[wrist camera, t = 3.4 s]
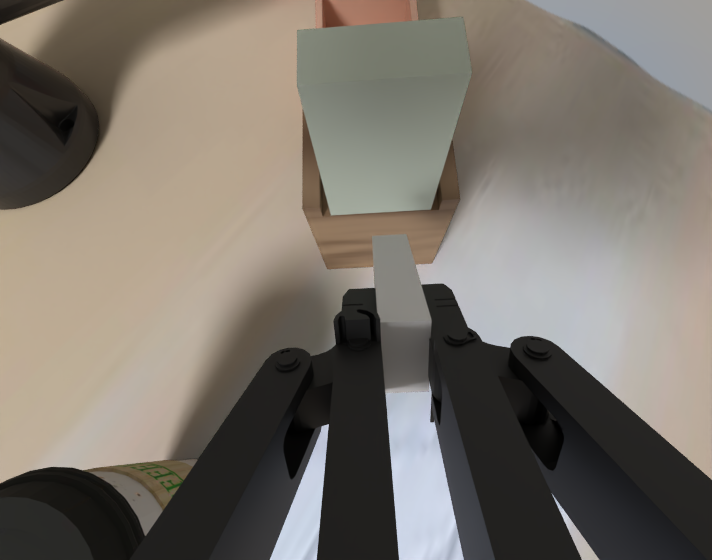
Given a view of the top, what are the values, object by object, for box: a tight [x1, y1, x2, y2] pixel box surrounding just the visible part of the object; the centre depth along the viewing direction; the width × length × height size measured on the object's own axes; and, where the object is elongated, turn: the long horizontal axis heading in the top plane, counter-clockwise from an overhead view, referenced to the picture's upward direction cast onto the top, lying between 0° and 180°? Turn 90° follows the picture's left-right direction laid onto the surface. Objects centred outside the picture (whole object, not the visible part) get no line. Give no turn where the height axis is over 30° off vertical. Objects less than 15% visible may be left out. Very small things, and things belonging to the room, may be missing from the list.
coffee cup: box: [0, 459, 198, 560], centre depth 20 cm, size 10×10×15 cm
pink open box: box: [315, 0, 418, 28], centre depth 36 cm, size 10×9×5 cm
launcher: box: [303, 111, 460, 269], centre depth 29 cm, size 16×9×11 cm, turn 2°
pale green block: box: [297, 17, 472, 215], centre depth 18 cm, size 2×6×10 cm, turn 92°
